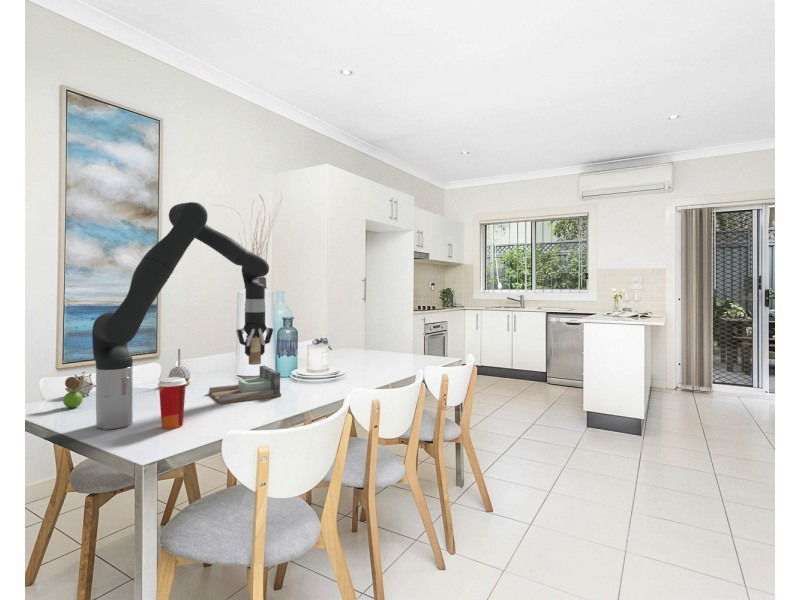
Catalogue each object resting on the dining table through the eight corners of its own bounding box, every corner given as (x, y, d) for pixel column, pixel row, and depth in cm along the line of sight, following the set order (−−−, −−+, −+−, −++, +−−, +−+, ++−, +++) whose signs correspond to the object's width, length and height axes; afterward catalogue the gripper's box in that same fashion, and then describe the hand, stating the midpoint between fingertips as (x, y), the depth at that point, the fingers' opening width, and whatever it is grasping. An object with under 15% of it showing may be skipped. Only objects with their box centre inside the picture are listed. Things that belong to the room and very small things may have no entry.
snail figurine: (79, 409, 152) (79, 373, 152) (59, 409, 152) (58, 373, 151) (89, 405, 157) (89, 370, 157) (69, 405, 157) (69, 370, 156)
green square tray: (270, 392, 176) (271, 381, 176) (245, 395, 171) (245, 384, 171) (262, 387, 184) (262, 377, 184) (238, 390, 179) (238, 379, 179)
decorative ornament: (177, 382, 195) (177, 347, 194) (193, 383, 193) (193, 348, 192) (164, 386, 187) (164, 349, 186) (181, 387, 185) (181, 350, 185)
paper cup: (176, 420, 142) (176, 375, 142) (192, 424, 138) (192, 378, 138) (151, 427, 135) (151, 380, 135) (167, 431, 132) (167, 383, 131)
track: (281, 396, 174) (281, 372, 174) (220, 404, 162) (220, 378, 162) (265, 387, 189) (265, 365, 189) (208, 393, 177) (208, 370, 176)
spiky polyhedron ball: (82, 407, 168) (77, 389, 162) (64, 397, 170) (58, 379, 164) (103, 391, 175) (98, 373, 169) (86, 381, 177) (80, 364, 171)
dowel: (262, 364, 177) (262, 338, 176) (250, 365, 174) (250, 338, 174) (258, 362, 180) (258, 336, 180) (247, 363, 178) (247, 337, 178)
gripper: (238, 311, 169) (238, 358, 170) (276, 311, 177) (276, 355, 178) (233, 310, 175) (233, 355, 176) (270, 309, 184) (269, 352, 184)
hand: (254, 355), depth 177 cm, fingers closed on dowel, 4 cm apart
